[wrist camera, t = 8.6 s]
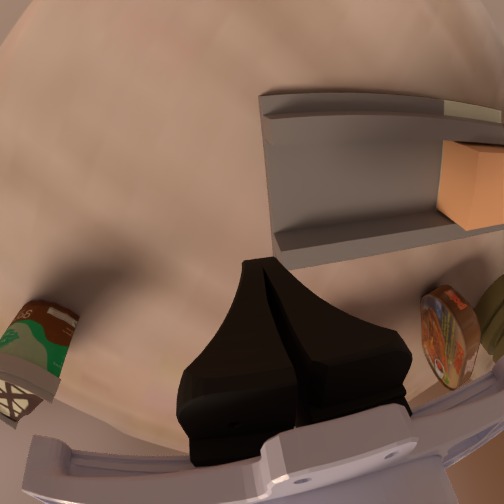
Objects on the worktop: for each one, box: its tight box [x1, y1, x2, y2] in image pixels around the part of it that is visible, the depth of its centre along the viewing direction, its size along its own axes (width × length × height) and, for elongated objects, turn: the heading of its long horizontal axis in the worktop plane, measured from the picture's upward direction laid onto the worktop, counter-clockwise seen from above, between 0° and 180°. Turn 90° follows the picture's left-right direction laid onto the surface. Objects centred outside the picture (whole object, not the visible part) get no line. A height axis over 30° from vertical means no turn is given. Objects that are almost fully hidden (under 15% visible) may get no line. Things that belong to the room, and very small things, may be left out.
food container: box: [0, 300, 79, 429], centre depth 20 cm, size 12×6×10 cm, turn 128°
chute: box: [258, 92, 504, 270], centre depth 19 cm, size 12×22×4 cm, turn 96°
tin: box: [421, 285, 481, 391], centre depth 27 cm, size 15×3×8 cm, turn 24°
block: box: [437, 140, 504, 231], centre depth 19 cm, size 6×6×4 cm
